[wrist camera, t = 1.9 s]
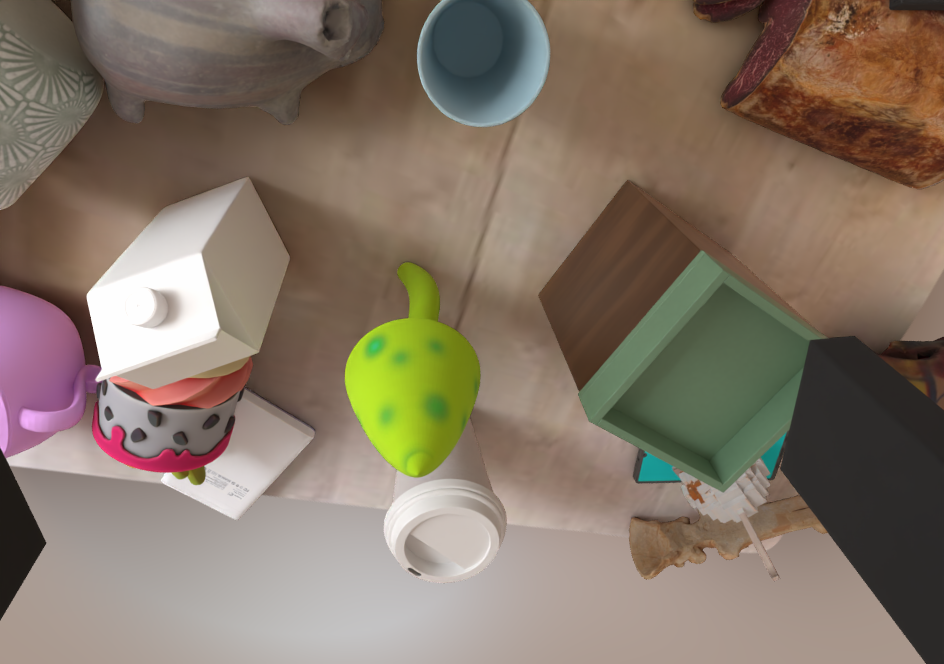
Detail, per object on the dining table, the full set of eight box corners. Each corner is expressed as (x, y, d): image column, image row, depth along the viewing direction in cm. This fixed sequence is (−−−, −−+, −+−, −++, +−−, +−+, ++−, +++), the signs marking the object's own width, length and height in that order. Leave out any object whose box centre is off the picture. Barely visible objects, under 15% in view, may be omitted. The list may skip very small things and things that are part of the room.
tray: (577, 393, 45) (588, 421, 43) (701, 248, 41) (723, 269, 38) (705, 464, 50) (723, 493, 47) (830, 339, 45) (858, 363, 43)
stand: (537, 295, 58) (579, 393, 45) (627, 179, 54) (701, 251, 41) (640, 356, 63) (705, 462, 50) (731, 253, 58) (828, 339, 45)
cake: (140, 270, 54) (112, 421, 60) (83, 326, 45) (56, 500, 50) (272, 308, 56) (232, 450, 62) (244, 369, 47) (201, 531, 53)
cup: (522, -25, 46) (553, -18, 37) (520, 93, 50) (548, 125, 41) (410, -22, 46) (414, -15, 37) (417, 97, 50) (422, 130, 40)
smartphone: (774, 480, 71) (634, 483, 69) (770, 474, 71) (632, 477, 69) (794, 422, 67) (648, 424, 65) (790, 417, 68) (645, 419, 66)
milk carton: (291, 257, 54) (247, 389, 38) (210, 286, 55) (132, 429, 38) (249, 175, 51) (181, 281, 34) (162, 206, 51) (54, 327, 35)
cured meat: (747, -193, 43) (804, -216, 37) (1046, -56, 49) (1137, -57, 43) (632, 94, 51) (664, 112, 45) (901, 183, 57) (960, 210, 51)
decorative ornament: (656, 447, 67) (713, 577, 55) (727, 408, 65) (802, 534, 53) (691, 488, 71) (751, 618, 59) (759, 452, 69) (836, 579, 57)
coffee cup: (368, 406, 62) (361, 526, 49) (464, 368, 61) (483, 480, 48) (410, 478, 67) (415, 605, 54) (501, 443, 66) (527, 565, 53)
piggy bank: (430, -98, 42) (407, 50, 36) (348, 84, 55) (319, 220, 48) (118, -272, 36) (15, -131, 29) (106, -20, 48) (32, 121, 41)
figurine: (804, 496, 74) (624, 537, 75) (807, 471, 71) (621, 514, 72) (841, 553, 68) (645, 597, 69) (845, 528, 66) (642, 574, 66)
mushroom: (335, 268, 55) (297, 472, 34) (413, 203, 53) (427, 376, 32) (403, 335, 59) (410, 558, 37) (479, 276, 57) (532, 476, 35)
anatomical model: (790, 406, 67) (851, 309, 73) (926, 477, 61) (979, 365, 68) (821, 351, 59) (885, 248, 66) (978, 427, 54) (1033, 306, 60)
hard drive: (316, 428, 63) (241, 510, 66) (238, 382, 60) (165, 470, 63) (314, 439, 61) (238, 522, 65) (234, 392, 58) (159, 482, 62)
